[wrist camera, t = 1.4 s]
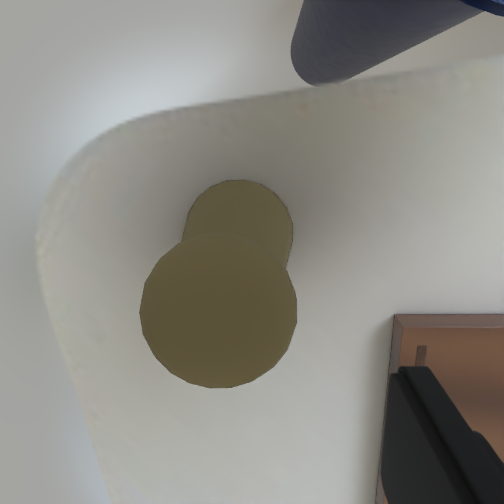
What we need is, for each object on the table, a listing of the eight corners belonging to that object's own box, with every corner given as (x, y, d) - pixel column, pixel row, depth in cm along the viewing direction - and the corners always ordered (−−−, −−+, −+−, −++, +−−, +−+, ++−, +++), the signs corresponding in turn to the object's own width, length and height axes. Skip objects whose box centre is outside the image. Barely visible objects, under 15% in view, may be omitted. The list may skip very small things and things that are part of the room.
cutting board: (394, 314, 23) (402, 327, 22) (642, 313, 23) (668, 326, 21) (368, 572, 30) (373, 595, 29) (557, 577, 30) (572, 601, 28)
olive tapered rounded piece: (182, 277, 23) (112, 409, 13) (187, 173, 21) (109, 226, 11) (285, 289, 23) (300, 429, 13) (300, 185, 21) (332, 251, 11)
